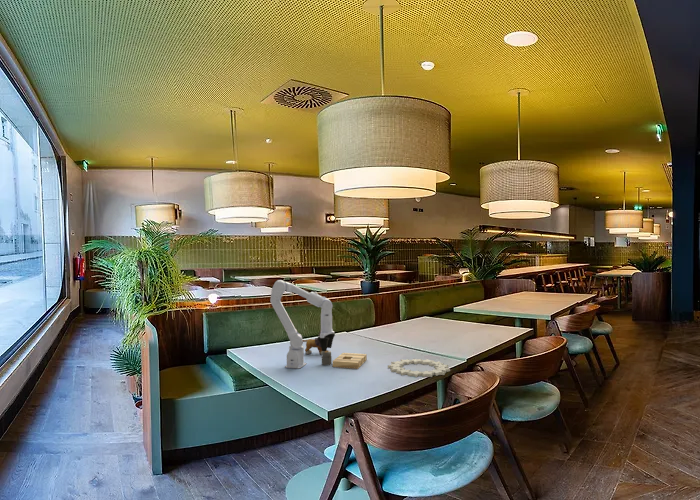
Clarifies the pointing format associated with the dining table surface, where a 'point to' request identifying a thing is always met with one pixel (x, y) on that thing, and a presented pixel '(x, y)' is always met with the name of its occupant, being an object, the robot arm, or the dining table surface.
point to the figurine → (313, 344)
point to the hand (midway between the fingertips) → (326, 349)
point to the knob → (326, 358)
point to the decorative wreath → (439, 370)
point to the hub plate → (349, 360)
